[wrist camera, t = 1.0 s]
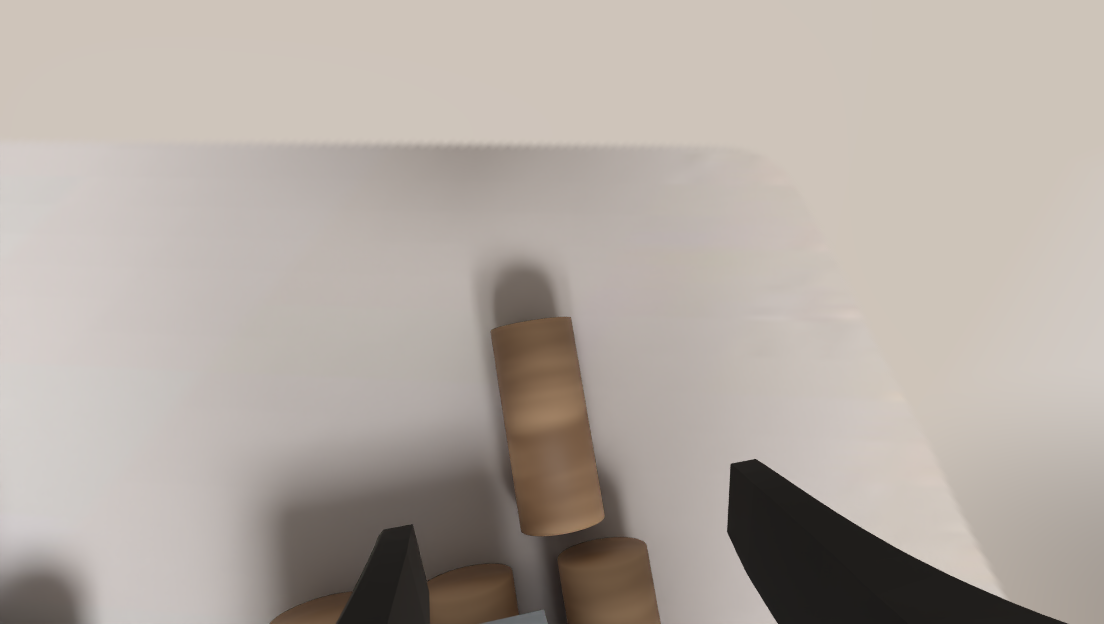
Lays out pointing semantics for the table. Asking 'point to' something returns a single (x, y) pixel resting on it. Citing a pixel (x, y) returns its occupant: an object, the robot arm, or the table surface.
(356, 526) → the table surface
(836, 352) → the table surface
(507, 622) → the slab
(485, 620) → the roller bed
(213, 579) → the table surface
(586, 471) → the roller
